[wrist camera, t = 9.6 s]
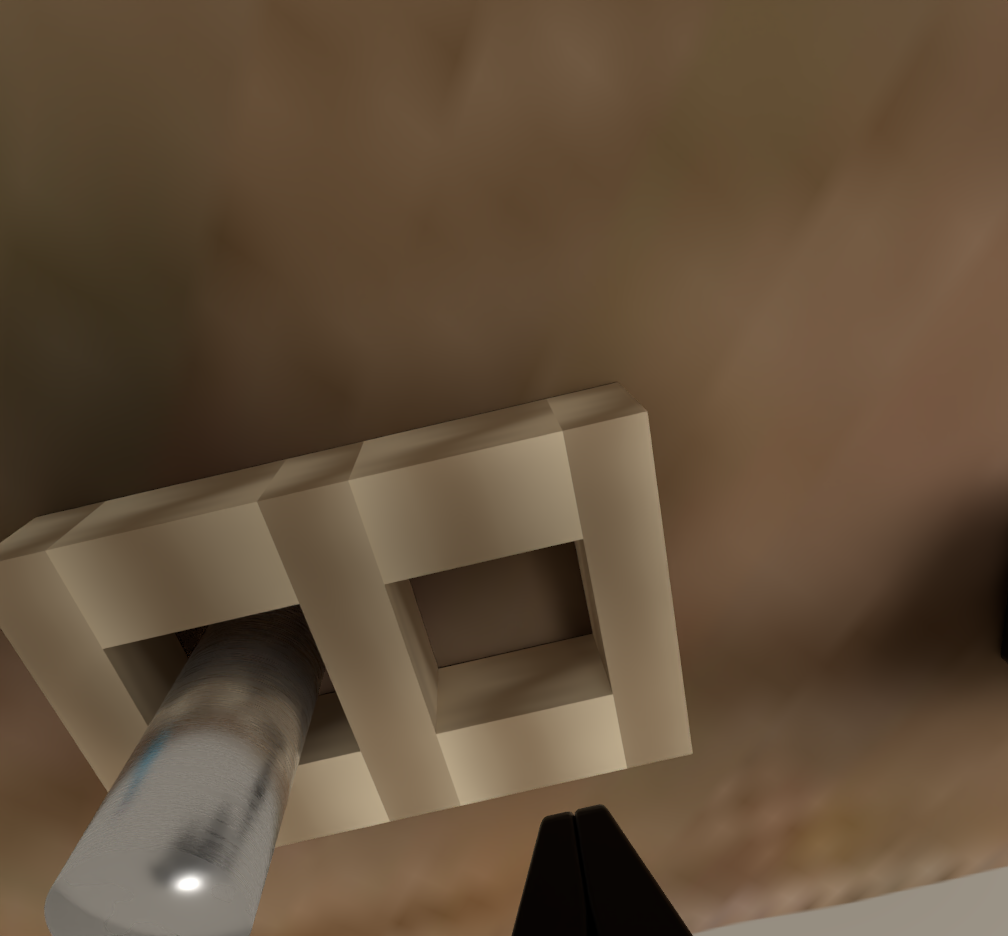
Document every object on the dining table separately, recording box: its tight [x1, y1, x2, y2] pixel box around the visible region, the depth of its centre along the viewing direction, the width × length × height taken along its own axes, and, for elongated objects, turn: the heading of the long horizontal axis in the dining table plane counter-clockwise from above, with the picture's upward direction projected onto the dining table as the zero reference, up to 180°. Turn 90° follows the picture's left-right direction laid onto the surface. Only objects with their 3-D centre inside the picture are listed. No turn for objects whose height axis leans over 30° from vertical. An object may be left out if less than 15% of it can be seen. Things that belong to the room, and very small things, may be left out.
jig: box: [0, 382, 693, 847], centre depth 19 cm, size 18×12×3 cm, turn 102°
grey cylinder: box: [44, 604, 326, 936], centre depth 17 cm, size 4×4×9 cm
